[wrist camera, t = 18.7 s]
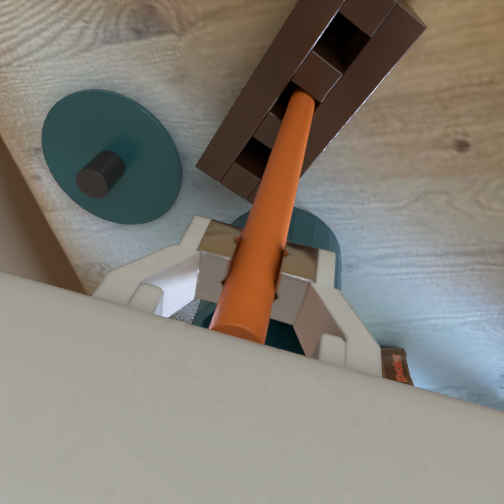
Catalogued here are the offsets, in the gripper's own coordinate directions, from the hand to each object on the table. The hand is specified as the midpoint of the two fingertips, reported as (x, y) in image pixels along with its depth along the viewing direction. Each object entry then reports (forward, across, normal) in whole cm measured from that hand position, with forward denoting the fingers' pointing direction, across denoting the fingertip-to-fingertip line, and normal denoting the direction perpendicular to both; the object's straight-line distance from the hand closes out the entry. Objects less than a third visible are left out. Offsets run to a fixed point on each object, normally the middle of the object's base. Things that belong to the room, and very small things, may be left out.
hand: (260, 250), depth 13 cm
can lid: (+18, +13, +10) cm, 24 cm away
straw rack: (+19, 0, 0) cm, 19 cm away
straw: (+14, 0, 0) cm, 14 cm away
